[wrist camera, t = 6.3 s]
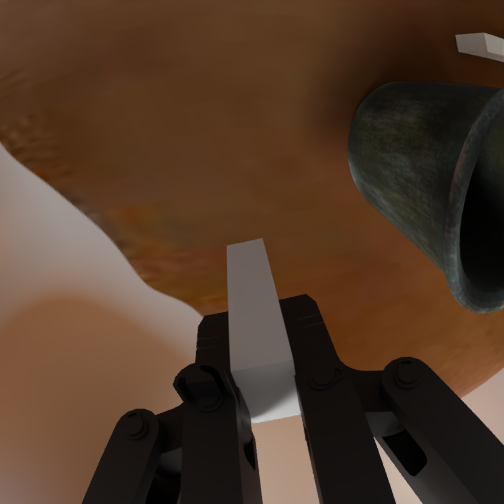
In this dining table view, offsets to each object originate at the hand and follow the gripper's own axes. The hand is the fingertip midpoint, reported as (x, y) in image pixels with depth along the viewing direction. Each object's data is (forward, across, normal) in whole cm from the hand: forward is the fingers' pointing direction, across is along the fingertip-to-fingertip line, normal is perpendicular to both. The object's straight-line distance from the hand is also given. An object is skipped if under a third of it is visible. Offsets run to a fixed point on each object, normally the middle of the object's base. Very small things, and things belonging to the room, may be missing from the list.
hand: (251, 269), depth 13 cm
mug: (+9, +13, 0) cm, 16 cm away
